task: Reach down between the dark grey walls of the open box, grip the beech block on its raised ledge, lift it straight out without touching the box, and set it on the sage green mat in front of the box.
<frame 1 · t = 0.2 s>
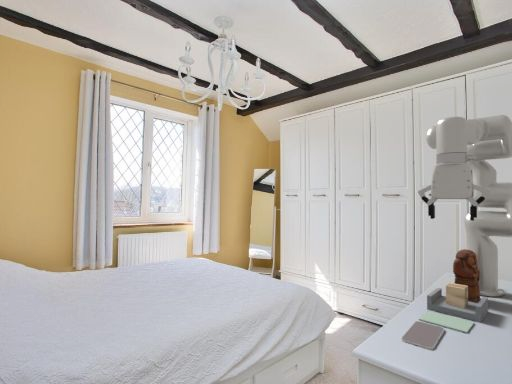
hand: (451, 219, 86), 30 cm above the table, tool pointing down, fingers open, 9 cm apart
smartphone: (423, 337, 79), on the table
sage mat: (446, 321, 88), on the table
wooden figurine: (467, 300, 107), on the table
grey box: (457, 310, 96), on the table
beech block: (457, 304, 97), point 2 cm above the table, touching grey box
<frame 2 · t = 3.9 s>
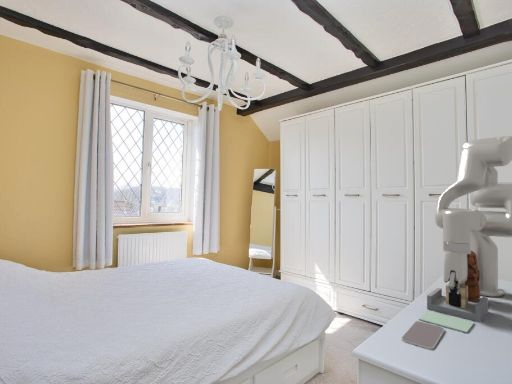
hand: (457, 302, 97), 2 cm above the table, tool pointing down, fingers closed on beech block, 5 cm apart
beech block: (457, 304, 97), point 2 cm above the table, touching grey box, gripper
everything else where it was.
when the fingers open (2 cm above the table, at t = 12.6 s): beech block drops 2 cm, resting on sage mat.
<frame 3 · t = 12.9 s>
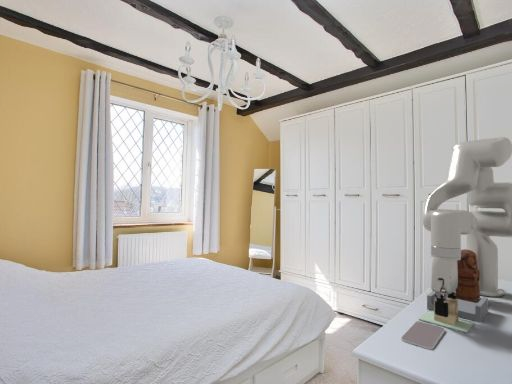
hand: (446, 311, 88), 3 cm above the table, tool pointing down, fingers open, 8 cm apart
beech block: (446, 320, 88), resting on sage mat
everything else where it was.
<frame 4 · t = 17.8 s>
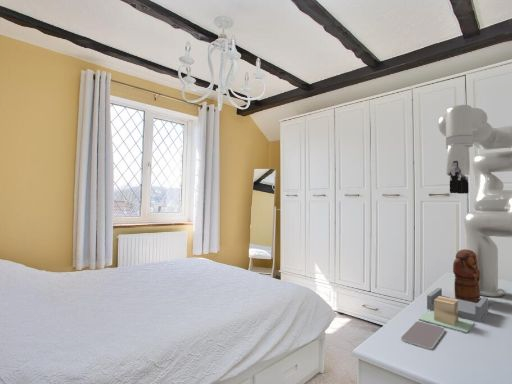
hand: (459, 193, 100), 38 cm above the table, tool pointing down, fingers open, 9 cm apart
nothing on the table moved.
at the end: beech block 0.2 cm off-centre on the sage mat, point 0.4 cm above the sage mat's base; beech block tilted 0°; beech block touching sage mat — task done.
